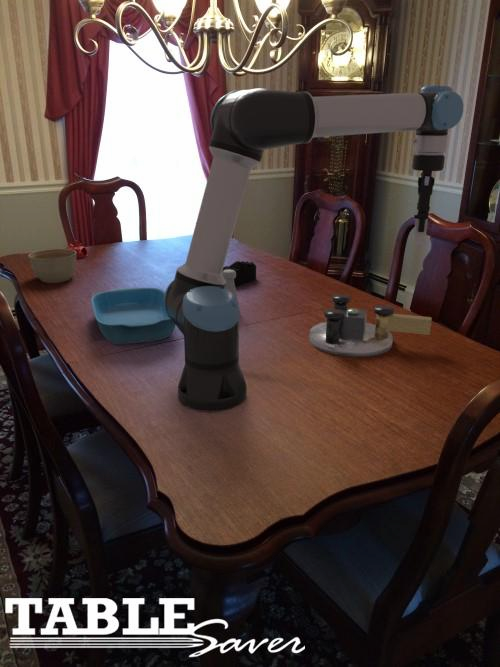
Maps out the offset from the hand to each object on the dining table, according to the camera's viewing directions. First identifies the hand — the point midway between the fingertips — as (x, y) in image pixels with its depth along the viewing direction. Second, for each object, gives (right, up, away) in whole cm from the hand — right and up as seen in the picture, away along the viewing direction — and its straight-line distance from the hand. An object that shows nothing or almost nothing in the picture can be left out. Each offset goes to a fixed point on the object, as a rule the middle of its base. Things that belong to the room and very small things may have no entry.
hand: (419, 239), depth 146 cm
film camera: (-49, -7, +55) cm, 74 cm away
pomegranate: (-116, +4, +83) cm, 142 cm away
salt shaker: (-51, -18, +27) cm, 60 cm away
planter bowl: (-114, -7, +54) cm, 127 cm away
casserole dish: (-78, -23, +14) cm, 82 cm away
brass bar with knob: (-5, -26, 0) cm, 26 cm away
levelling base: (-17, -27, +4) cm, 32 cm away
